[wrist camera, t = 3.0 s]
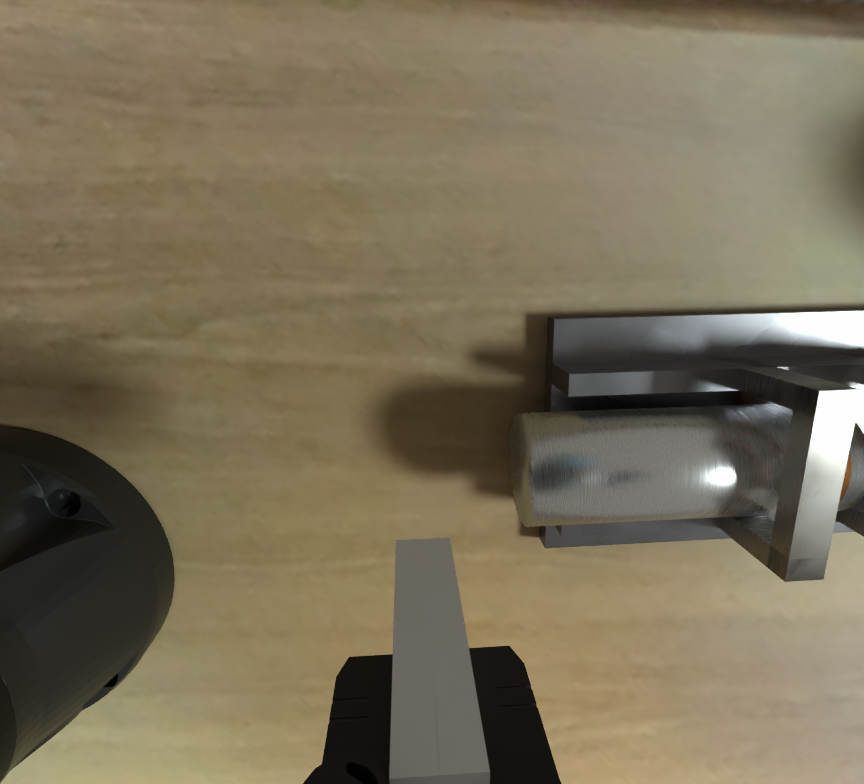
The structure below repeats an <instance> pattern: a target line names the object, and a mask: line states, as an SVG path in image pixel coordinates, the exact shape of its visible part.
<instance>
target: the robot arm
mask: <svg viewBox="0 0 864 784" xmlns="http://www.w3.org/2000/svg"><path fill="white" fill-rule="evenodd" d="M173 591H174V565H173V558H172V553H171V549H170V546H169V542H168V539H167V537H166V534H165V532H164V529H163V527H162V525H161V523H160V521H159V520H158V518H157V516H156V514H155V513H154V511H153V510H152V508H151V507H150V505H149V504H148V502H147V501H146V500H145V499H144V497H143V496H142V495H141V494H140V493H139V492H138V490H137V489H136V488H135V487H134V486H133V485H132V484H131V483H130V482H129V481H128V480H127V479H126V478H125V477H123V476H122V475H121V474H120V473H119V472H117V471H116V470H115V469H114V468H112V467H111V466H110V465H108V464H107V463H105V462H104V461H102V460H101V459H99V458H98V457H96V456H94V455H93V454H91V453H89V452H87V451H85V450H84V449H81V448H79V447H77V446H75V445H73V444H71V443H68V442H66V441H63V440H61V439H58V438H55V437H52V436H48V435H45V434H41V433H37V432H32V431H27V430H22V429H14V428H2V427H0V783H1V782H2V780H3V779H4V778H5V777H6V775H7V774H8V773H9V772H10V771H11V770H12V769H13V768H14V767H15V766H17V765H18V764H19V763H20V762H22V761H23V760H24V759H26V758H27V757H28V756H29V755H31V754H32V753H33V752H34V751H36V750H37V749H38V748H40V747H41V746H42V745H43V744H45V743H46V742H47V741H48V740H50V739H51V738H52V737H53V736H54V735H56V734H57V733H58V732H59V731H61V730H62V729H63V728H64V727H65V726H66V725H68V724H69V723H70V722H71V721H72V720H73V719H74V718H75V717H76V716H77V715H78V714H79V713H80V712H81V711H82V710H84V709H85V708H87V707H89V706H91V705H92V704H94V703H95V702H97V701H99V700H100V699H101V698H103V697H104V696H105V695H107V694H108V693H109V692H110V691H112V690H113V689H114V688H115V687H116V686H117V685H119V684H120V683H121V682H122V681H123V680H124V679H125V678H126V676H127V675H128V674H129V673H130V672H131V671H132V670H133V669H134V667H135V666H136V665H137V664H138V662H139V661H140V659H141V658H142V656H143V655H144V653H145V652H146V650H147V649H148V647H149V646H150V644H151V643H152V641H153V640H154V638H155V637H156V635H157V634H158V632H159V631H160V629H161V627H162V625H163V624H164V622H165V619H166V617H167V615H168V612H169V609H170V606H171V602H172V598H173ZM303 784H561V782H560V779H559V776H558V773H557V770H556V766H555V763H554V760H553V757H552V753H551V750H550V747H549V743H548V740H547V737H546V734H545V730H544V727H543V724H542V721H541V717H540V714H539V711H538V708H537V706H536V701H535V698H534V694H533V691H532V689H531V684H530V681H529V678H528V675H527V671H526V668H525V665H524V663H523V662H522V660H521V659H520V658H519V657H518V656H517V655H516V653H515V652H514V651H513V650H512V649H511V647H510V646H499V647H482V648H469V646H468V640H467V635H466V629H465V623H464V617H463V611H462V605H461V600H460V594H459V588H458V582H457V576H456V571H455V565H454V559H453V553H452V547H451V541H450V538H432V539H411V540H396V559H395V594H394V629H393V654H392V655H375V656H358V657H349V658H348V660H347V661H346V663H345V664H344V666H343V667H342V669H341V671H340V672H339V674H338V675H337V677H336V682H335V689H334V695H333V704H332V707H331V713H330V722H329V725H328V731H327V737H326V743H325V749H324V755H323V761H322V765H320V766H319V767H317V768H316V769H315V770H314V771H313V772H312V773H311V774H310V776H309V777H308V778H307V779H306V781H305V782H304V783H303Z"/></svg>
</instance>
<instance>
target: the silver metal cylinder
mask: <svg viewBox="0 0 864 784" xmlns="http://www.w3.org/2000/svg"><path fill="white" fill-rule="evenodd" d="M792 414H793V410H791V409H789V408H786V407H783V406H780V405H778V404H775V403H770V404H751V405H724V406H697V407H670V408H643V409H616V410H589V411H562V412H535V413H518V414H516V416H515V417H514V420H513V423H512V427H511V434H510V452H509V456H510V475H511V484H512V491H513V497H514V502H515V506H516V510H517V513H518V516H519V518H520V520H521V522H522V524H523V525H524V526H526V527H535V526H555V525H576V524H596V523H616V522H636V521H656V520H676V519H696V518H716V517H736V516H756V515H775V514H776V508H777V503H778V497H779V491H780V485H781V479H782V473H783V467H784V461H785V455H786V449H787V443H788V437H789V431H790V425H791V420H792ZM863 495H864V433H863V431H862V430H861V428H860V427H859V425H858V424H857V423H856V421H855V426H854V430H853V435H852V440H851V445H850V450H849V455H848V460H847V465H846V470H845V475H844V480H843V485H842V490H841V495H840V500H839V504H838V509H837V511H842V510H846V509H848V508H850V507H852V506H853V505H855V504H856V503H857V502H858V501H859V500H860V499H861V498H862V497H863Z"/></svg>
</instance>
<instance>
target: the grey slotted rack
mask: <svg viewBox="0 0 864 784" xmlns="http://www.w3.org/2000/svg"><path fill="white" fill-rule="evenodd" d="M770 403H775V404H778V405H780V406H783V407H786V408H789V409H791V410H793V414H792V420H791V425H790V431H789V437H788V443H787V449H786V455H785V461H784V467H783V473H782V479H781V485H780V491H779V497H778V503H777V508H776V514H775V515H756V516H736V517H716V518H696V519H676V520H656V521H636V522H616V523H596V524H576V525H555V526H540V539H541V541H542V543H543V545H544V547H545V548H559V547H577V546H596V545H614V544H633V543H652V542H670V541H689V540H708V539H726V538H732V539H733V540H735V541H736V542H737V543H738V544H739V545H741V546H742V547H743V548H744V549H746V550H747V551H748V552H749V553H750V554H752V555H753V556H754V557H755V558H757V559H758V560H759V561H760V562H761V563H763V564H764V565H765V566H766V567H768V568H769V569H770V570H771V571H772V572H774V573H775V574H776V575H777V576H779V577H780V578H781V579H782V580H784V581H785V582H787V581H804V580H821V579H823V578H824V574H825V569H826V564H827V559H828V554H829V549H830V544H831V539H832V534H833V533H838V532H857V533H859V534H860V535H862V536H864V495H863V497H862V498H861V499H860V500H859V501H858V502H857V503H856V504H855V505H853V506H852V507H850V508H848V509H846V510H842V511H837V509H838V504H839V500H840V495H841V490H842V485H843V480H844V475H845V470H846V465H847V460H848V455H849V450H850V445H851V440H852V435H853V430H854V426H855V421H856V423H857V424H858V425H859V427H860V428H861V430H862V431H863V433H864V309H835V310H798V311H761V312H724V313H687V314H650V315H613V316H576V317H548V336H547V363H546V389H545V412H562V411H589V410H616V409H643V408H670V407H697V406H724V405H751V404H770Z"/></svg>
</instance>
